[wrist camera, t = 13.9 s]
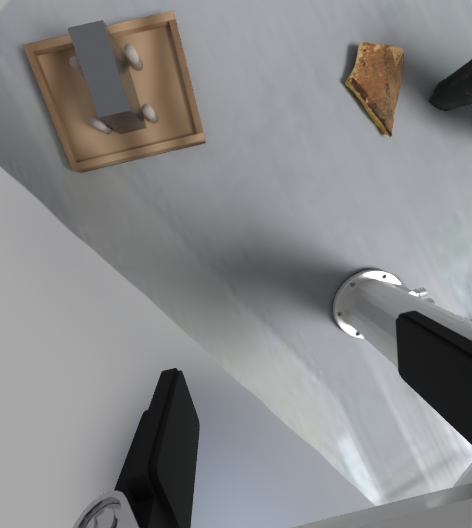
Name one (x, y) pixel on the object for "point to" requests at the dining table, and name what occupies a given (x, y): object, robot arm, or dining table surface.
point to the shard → (378, 81)
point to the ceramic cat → (454, 89)
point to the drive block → (107, 77)
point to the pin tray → (146, 85)
